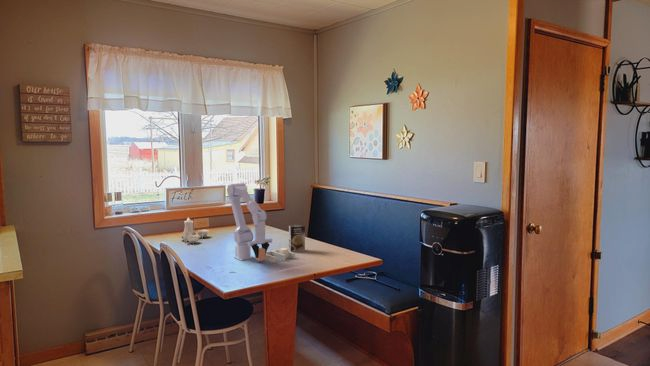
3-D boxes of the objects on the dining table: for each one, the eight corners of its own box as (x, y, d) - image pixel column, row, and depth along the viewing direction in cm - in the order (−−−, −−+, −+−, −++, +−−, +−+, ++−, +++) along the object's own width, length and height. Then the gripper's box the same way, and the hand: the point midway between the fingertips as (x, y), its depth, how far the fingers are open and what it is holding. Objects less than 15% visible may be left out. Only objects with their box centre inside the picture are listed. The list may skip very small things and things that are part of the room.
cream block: (279, 257, 253) (278, 248, 252) (284, 256, 255) (284, 247, 255) (282, 258, 249) (282, 250, 249) (288, 257, 252) (288, 249, 251)
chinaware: (198, 247, 289) (200, 222, 287) (173, 245, 289) (175, 220, 287) (210, 238, 317) (212, 215, 315) (187, 236, 317) (189, 213, 315)
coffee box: (290, 253, 265) (290, 226, 263) (288, 250, 271) (288, 225, 269) (305, 252, 267) (305, 226, 266) (303, 249, 273) (302, 224, 272)
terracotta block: (255, 259, 243) (255, 248, 242) (261, 258, 245) (261, 247, 245) (259, 260, 240) (259, 250, 239) (265, 259, 242) (265, 249, 242)
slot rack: (259, 258, 252) (259, 252, 252) (281, 254, 261) (281, 248, 261) (274, 264, 240) (274, 258, 239) (297, 259, 249) (297, 253, 249)
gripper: (251, 235, 234) (252, 260, 235) (275, 232, 243) (275, 256, 244) (245, 233, 239) (246, 257, 240) (268, 230, 248) (268, 253, 249)
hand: (260, 256), depth 242 cm, fingers closed on terracotta block, 4 cm apart
